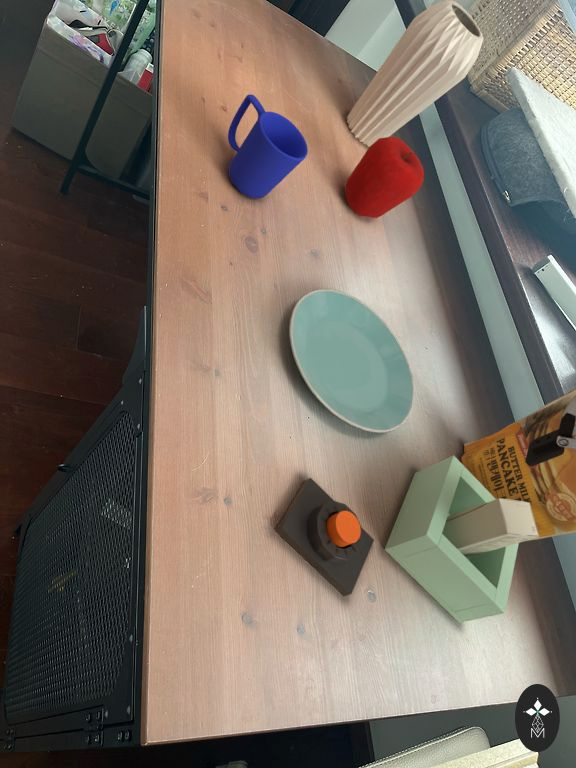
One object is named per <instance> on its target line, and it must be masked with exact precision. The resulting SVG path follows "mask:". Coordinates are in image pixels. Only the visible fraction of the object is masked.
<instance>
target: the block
mask: <svg viewBox="0 0 576 768" xmlns="http://www.w3.org/2000/svg"><path fill="white" fill-rule="evenodd" d="M341 511H349V512H351V513H352V514H353V515H354V516H355V517H356V518H357V520H358V522H359V524H360V528H361V534H360V537H359V539H358V540H357V541H356V542H355V543H352V544H349V545H347V546H344V547H339V546H336V545H335V544H333V543H332V542H331V540H330V539H329V537H328V534H327V532H326V523H327V520H328V518H329V517H330V516H332V515H334V514H337V513H339V512H341ZM275 532H276V533H277V534H278V535H279V536H280V537H281V538H282V539H283V540H284V541H285V542H287V543H288V544H289V545H290V546H291V547H292V548H293V549H294V550H295V551H296V552H297V553H298V554H299V555H301V557H302V558H303V559H304V560H306V562H308V563H309V564H310V565H311V566H312V567H313V568H314V569H315V570H316V571H317V572H318V573H319V574H320V575H321V576H322V577H323V578H325V579H326V580H327V581H328V583H330V584H331V586H333V587H334V588H335V589H336V590H337V591H338V592H339V593H341V594H342V596H343V597H348V596H350V595H352V593H353V592H354V589H355V587H356V584H357V582H358V579H359V577H360V575H361V572H362V570H363V567H364V565H365V563H366V560H367V558H368V556H369V554H370V551H371V549H372V546H373V544H374V542H375V539H374V538H373V537H372V536H371V535H370V534H369V533H368V532H367V531H366V529H364V528H363V527H362V525H361V523H360V520H359V518H358V517H357V514H356V513H355V512H354V511H353V510H352V509H351V508H350V507H349V506H348V505H347V504H345V503H343V502H341V501H336V500H335V499H333V498H332V497H331V496H330V495H329V494H328V493H327V492H326V491H325V490H324V489H323V488H322V487H321V485H318V484H317V482H316V481H315V480H314V479H313V478H312V477H309V478H306V479H305V480H304V481H303V483H302V484H301V486H300V488H298V491H297V492H296V494H295V496H294V498H293V500H292V502H291V503H290V505H289V506H288V508H287V510H286V511H285V513H284V515H283V517H282V518H281V520H280V522H279V524H278V525H277V527H276V529H275Z"/></svg>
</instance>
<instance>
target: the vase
mask: <svg viewBox="0 0 576 768" xmlns="http://www.w3.org/2000/svg"><path fill="white" fill-rule="evenodd" d="M483 35H484V34H483V32H482V31H481V28H480V27H479V26H478V24H477V22H476V20H474V19H473V16H472V15H470V14H469V12H468V11H467V9H465V8H464V7H463V6H462V4H459V3H458V2H457V1H456V0H443V1H440V2H438V3H436V4H433V5H431V6H429V7H427V8H426V9H425V10H423V11H422V12H420V13H419V14H418V15H415V17H414V18H413V19H412V20H411V22H410V24H409V25H408V27H407V28H406V29H405V30H404V32H403V34H401V37H400V38H399V40H398V41H397V43H396V44H395V46H394V47H393V48H392V50H391V52H390V53H389V54H388V55H387V57H386V59H385V60H384V61H383V63H382V64H381V66H380V68H379V69H378V70H377V72H376V73H375V75H374V76H373V77H372V79H371V80H370V82H369V84H368V85H367V87H366V88H365V90H364V91H363V92H362V94H361V95H360V97H359V98H358V100H357V101H356V103H355V104H354V106H353V107H352V109H351V110H350V112H349V113H348V115H347V116H346V120H347V121H346V123H347V125H348V126H347V128H349V130H350V133H352V134H353V135H354V137H355V138H356V139H358V141H359V143H361V142H362V144H363V145H364V146H367V147H368V148H369V147H370V146H371V145H372V144H373V143H375V142H376V141H377V140H378V139H379V138H386V137H391V136H392V135H393V134H395V133H396V132H397V131H398V130H400V129H401V128H403V126H405V125H406V124H407V123H409V122H410V121H411V120H413V119H414V118H415V117H417V116H418V115H419V114H420V113H421V112H423V111H424V110H426V108H429V106H430V105H432V104H433V103H435V102H436V101H437V100H438V99H440V98H441V97H442V96H443V95H445V94H446V93H447V92H448V91H450V90H451V89H453V88H454V87H455V86H456V85H458V84H459V83H460V82H462V81H463V80H464V79H465V78H466V76H467V75H468V73H469V72H470V71H471V69H472V67H473V66H474V65H475V63H476V61H477V59H478V57H479V54H480V53H481V48H482V46H483V42H484V39H485V38H484V36H483Z"/></svg>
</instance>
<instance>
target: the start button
mask: <svg viewBox="0 0 576 768" xmlns="http://www.w3.org/2000/svg"><path fill="white" fill-rule="evenodd" d="M357 518H358V517H357ZM357 518H356V517H355V516H354V515H353V514H352V513H351V512H349V511H341V512H339V513H337V514H334V515H332V516H330V517H329V518H328V520H327V523H326V532H327V534H328V537H329V539H330V540H331V542H332V543H333V544H335V545H336V546H339V547H344V546H347V545H349V544H352V543H355V542H356V541H357V540H358V539H359V537H360V534H361V528H360V525H361V523H360V521H359V519H358V520H357ZM358 521H359V522H358ZM359 523H360V524H359Z"/></svg>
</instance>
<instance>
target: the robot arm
mask: <svg viewBox="0 0 576 768" xmlns="http://www.w3.org/2000/svg"><path fill="white" fill-rule="evenodd" d="M572 434H573V435H576V395H575V396H574V397H573V399H572V400H571V401H570V403H569V404H568V406H567V407H566V408H565V409H564V410H563V414H562V418H561V422H560V426H559V429H557V430H555V431H553V432H550V433H548V434H546V435H543V436H541V437H539V438H536V439H534V440H533V441H532V442H531V443H530V445H529V448H528V452H527V456H526V460H525V462H526V463H527V465H528V466H535V465H537V464H540V463H542V462H545V461H547V460H550V459H553V458H555V457H558V456H560V455H562V454H563V453H564V449H565V448H570V449H576V436H572Z"/></svg>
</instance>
